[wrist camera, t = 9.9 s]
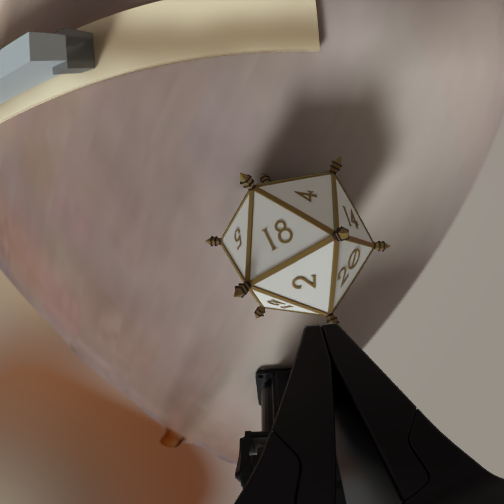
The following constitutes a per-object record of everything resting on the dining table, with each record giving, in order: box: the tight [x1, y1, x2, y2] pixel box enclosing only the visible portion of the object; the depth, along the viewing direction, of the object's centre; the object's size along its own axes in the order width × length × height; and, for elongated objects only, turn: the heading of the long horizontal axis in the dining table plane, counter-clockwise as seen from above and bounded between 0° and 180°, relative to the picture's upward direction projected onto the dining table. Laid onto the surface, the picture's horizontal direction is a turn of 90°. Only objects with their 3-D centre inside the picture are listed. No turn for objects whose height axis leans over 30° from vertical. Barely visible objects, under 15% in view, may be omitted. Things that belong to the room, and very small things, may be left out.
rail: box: [0, 0, 320, 123], centre depth 12 cm, size 4×26×4 cm, turn 94°
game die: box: [206, 157, 390, 324], centre depth 16 cm, size 9×8×10 cm
